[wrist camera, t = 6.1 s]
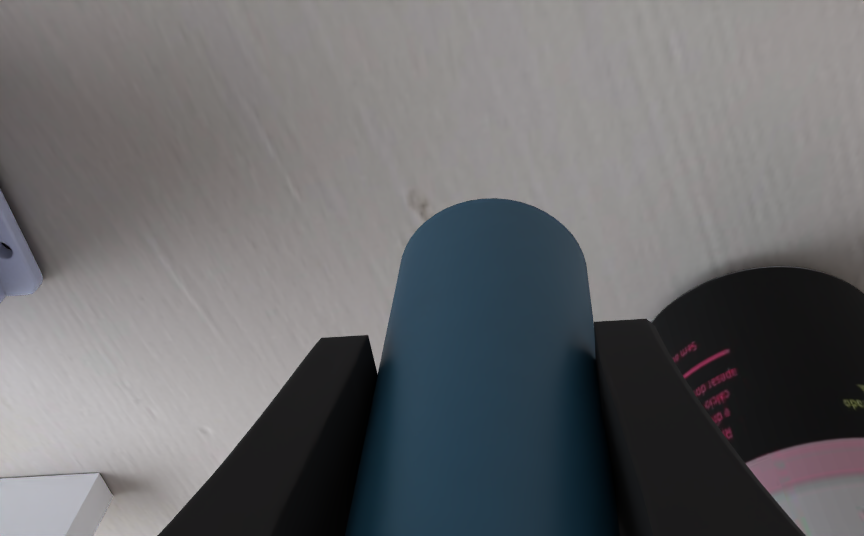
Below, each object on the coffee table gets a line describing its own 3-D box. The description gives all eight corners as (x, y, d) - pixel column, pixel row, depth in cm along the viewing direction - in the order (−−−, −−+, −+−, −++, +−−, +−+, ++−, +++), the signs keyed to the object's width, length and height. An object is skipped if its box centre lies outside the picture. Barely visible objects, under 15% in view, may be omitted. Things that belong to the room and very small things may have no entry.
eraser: (114, 497, 28) (65, 592, 25) (-11, 503, 29) (-73, 595, 26) (100, 472, 27) (47, 567, 24) (-28, 478, 28) (-94, 571, 25)
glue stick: (597, 348, 13) (680, 1018, 6) (410, 358, 13) (307, 993, 7) (590, 181, 11) (694, 856, 5) (377, 199, 12) (200, 838, 5)
